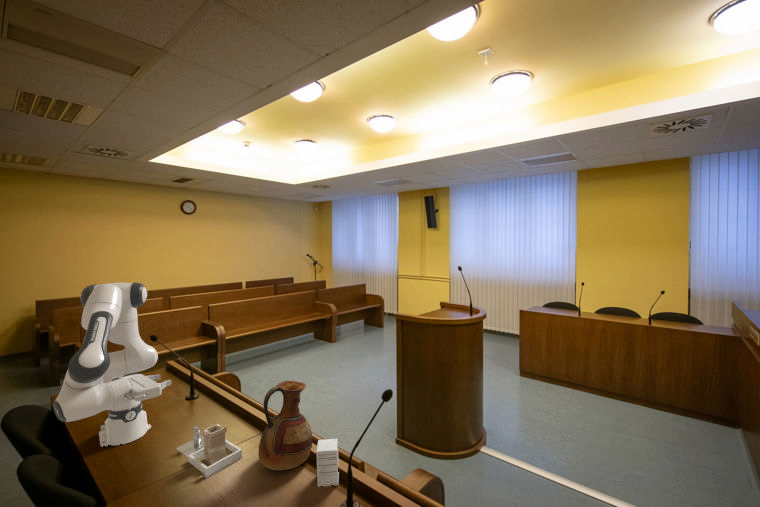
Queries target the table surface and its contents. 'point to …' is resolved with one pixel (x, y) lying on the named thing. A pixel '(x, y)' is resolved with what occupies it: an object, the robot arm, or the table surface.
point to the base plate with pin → (192, 443)
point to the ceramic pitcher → (285, 431)
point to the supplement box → (327, 462)
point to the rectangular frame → (219, 464)
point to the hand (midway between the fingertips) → (165, 379)
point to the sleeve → (214, 443)
